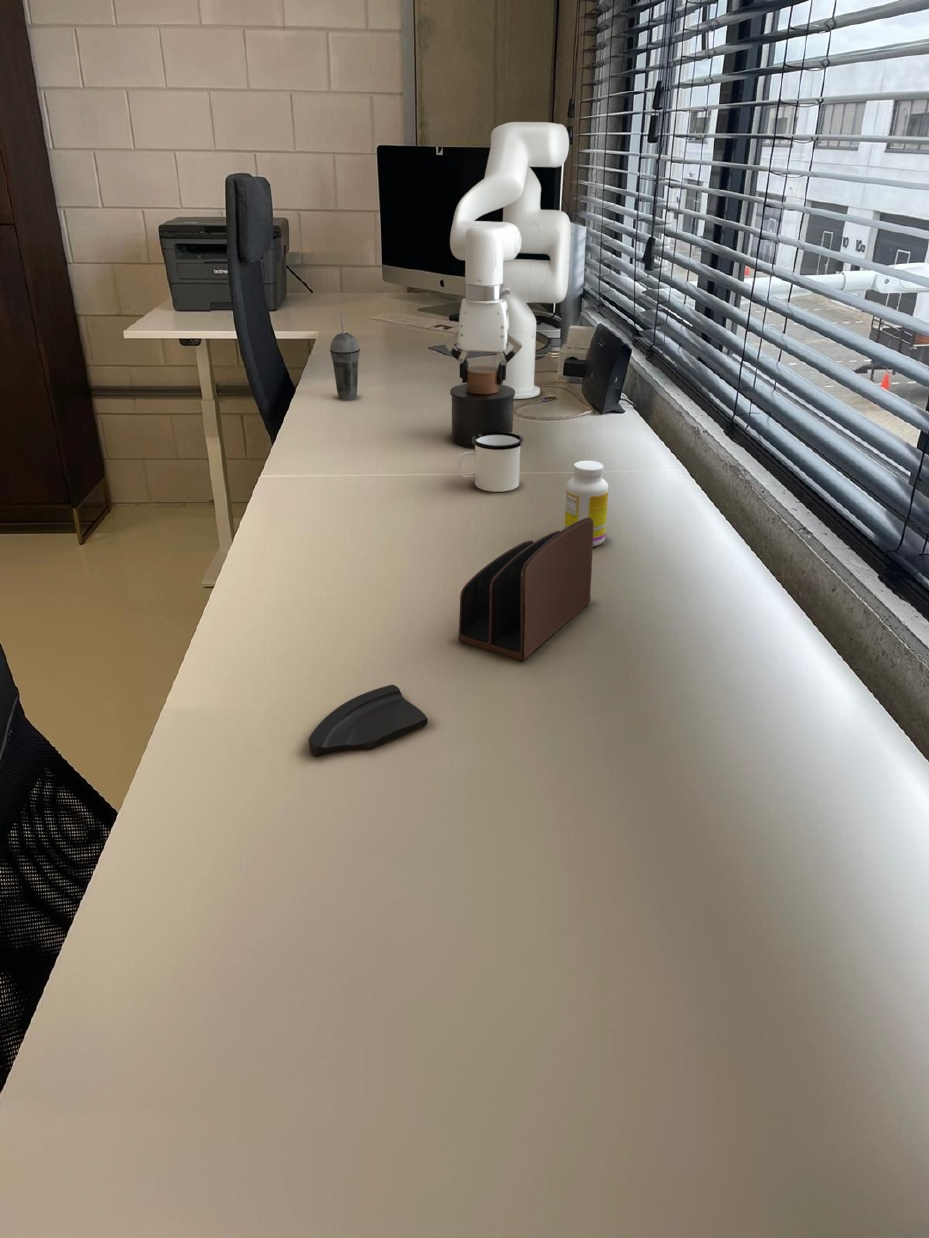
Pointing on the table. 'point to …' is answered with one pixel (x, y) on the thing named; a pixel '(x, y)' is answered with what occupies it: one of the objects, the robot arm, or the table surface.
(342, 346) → the beverage cup
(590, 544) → the letter holder
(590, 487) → the supplement bottle
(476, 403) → the pot
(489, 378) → the short brown cylinder
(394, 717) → the fan shaped piece
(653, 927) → the table surface
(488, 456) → the mug
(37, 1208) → the table surface
